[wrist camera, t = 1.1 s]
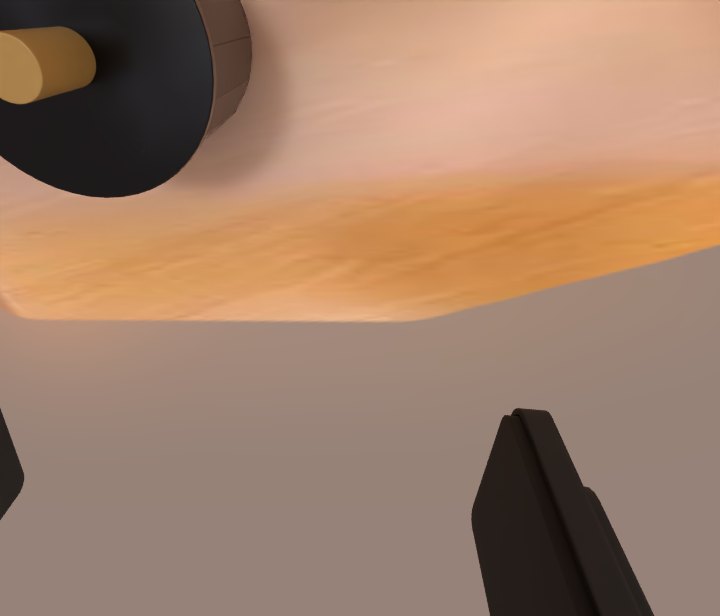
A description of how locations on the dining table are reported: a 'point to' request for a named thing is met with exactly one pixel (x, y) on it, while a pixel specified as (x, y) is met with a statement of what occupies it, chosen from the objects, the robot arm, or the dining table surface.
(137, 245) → the dining table surface
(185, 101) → the tin lid
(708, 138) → the dining table surface
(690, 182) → the dining table surface
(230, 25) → the tin
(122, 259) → the dining table surface
